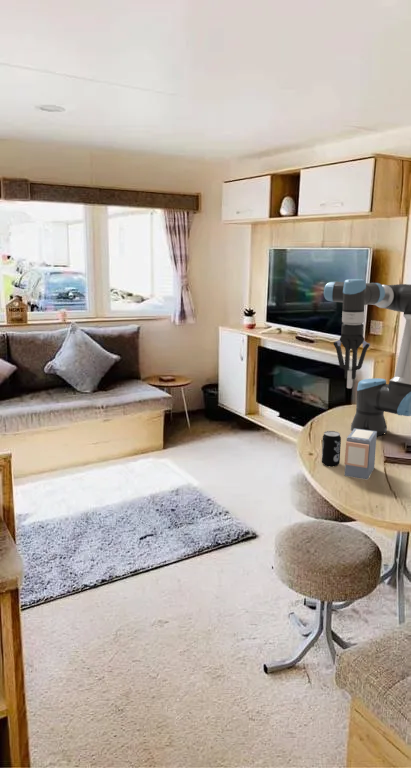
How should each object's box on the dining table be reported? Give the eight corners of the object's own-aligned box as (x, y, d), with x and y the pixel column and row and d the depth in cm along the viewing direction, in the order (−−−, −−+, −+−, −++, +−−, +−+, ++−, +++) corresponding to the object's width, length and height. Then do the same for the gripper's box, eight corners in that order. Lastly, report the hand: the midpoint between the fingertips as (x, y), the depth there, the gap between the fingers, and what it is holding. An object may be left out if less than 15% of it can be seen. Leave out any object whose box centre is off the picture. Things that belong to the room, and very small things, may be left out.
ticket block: (352, 464, 207) (354, 428, 203) (374, 467, 203) (376, 431, 200) (344, 475, 196) (346, 437, 193) (367, 479, 193) (370, 441, 190)
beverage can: (329, 468, 203) (330, 437, 200) (317, 462, 209) (319, 432, 206) (343, 465, 206) (345, 434, 203) (331, 459, 212) (333, 429, 209)
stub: (346, 441, 193) (346, 442, 192) (369, 444, 189) (368, 445, 188) (345, 463, 194) (344, 464, 193) (367, 467, 191) (366, 468, 190)
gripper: (331, 323, 198) (329, 388, 204) (369, 325, 192) (365, 391, 198) (336, 321, 204) (334, 383, 210) (373, 322, 199) (369, 386, 205)
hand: (349, 387), depth 204 cm, fingers closed
